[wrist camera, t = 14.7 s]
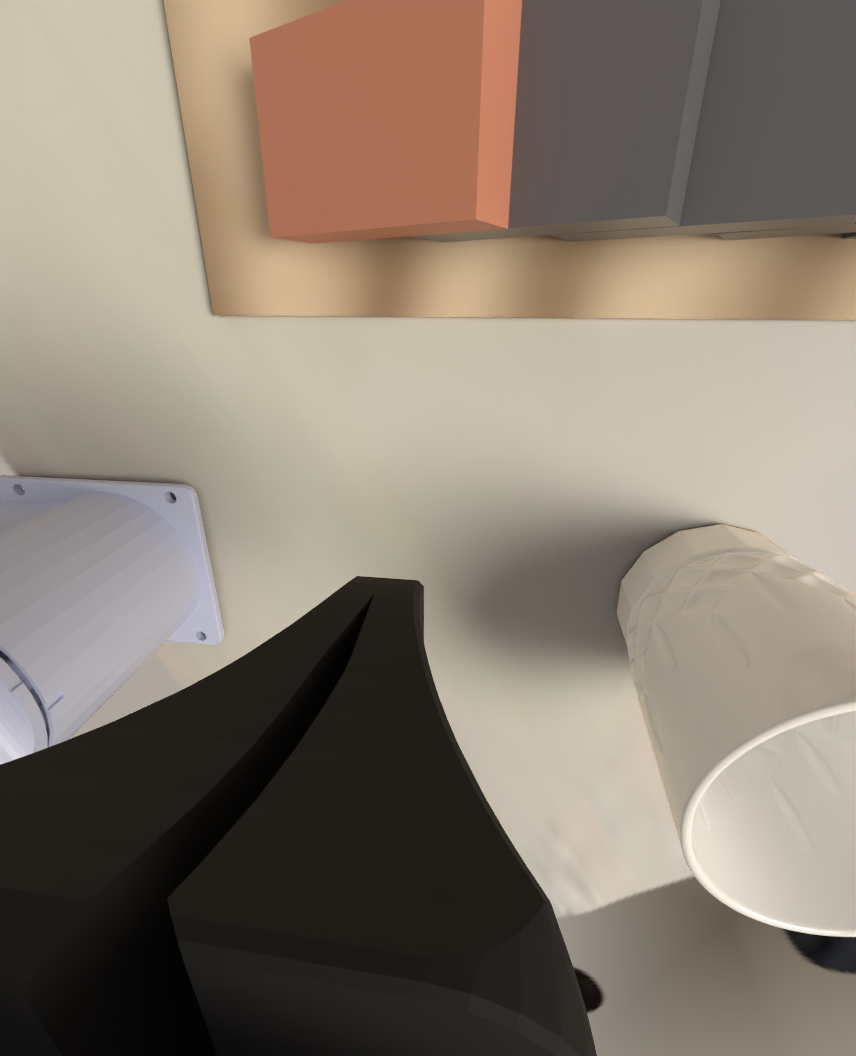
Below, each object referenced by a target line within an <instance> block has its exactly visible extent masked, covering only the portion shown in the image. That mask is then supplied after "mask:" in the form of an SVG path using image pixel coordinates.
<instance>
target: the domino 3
mask: <svg viewBox="0 0 856 1056" xmlns="http://www.w3.org/2000/svg"><path fill="white" fill-rule="evenodd" d="M842 239H856V232H852V233H843V236H842Z"/></svg>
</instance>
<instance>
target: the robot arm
mask: <svg viewBox="0 0 856 1056" xmlns="http://www.w3.org/2000/svg"><path fill="white" fill-rule="evenodd" d="M21 486H22V487H23V488H24V490H25V491H24V490H23V489H22V487H21ZM170 492H172V493H173V494H174V495H175V496H176V500H174V499H173V498H172V497H171V495H170ZM201 632H203V633H204V634H205V635H206V636H205V635H203V634H202V633H201ZM224 635H225V633H224V628H223V623H222V618H221V613H220V608H219V603H218V598H217V593H216V587H215V582H214V577H213V572H212V567H211V562H210V557H209V552H208V547H207V542H206V537H205V532H204V526H203V521H202V516H201V511H200V506H199V501H198V496H197V493H196V491H195V490H194V489H193V488H192V487H191V486H189V485H186V484H172V483H151V482H130V481H109V480H88V479H67V478H46V477H25V476H4V475H1V476H0V1056H597V1055H596V1050H595V1045H594V1041H593V1036H592V1032H591V1028H590V1023H589V1019H588V1016H587V1012H586V1009H585V1005H584V1001H583V998H582V994H581V991H580V988H579V985H578V981H577V978H576V975H575V972H574V969H573V966H572V963H571V960H570V957H569V954H568V951H567V948H566V945H565V942H564V940H563V937H562V934H561V931H560V929H559V925H558V923H557V920H556V917H555V914H554V911H553V908H552V905H551V903H550V901H549V899H548V898H547V896H546V894H545V893H544V891H543V890H542V888H541V887H540V885H539V884H538V882H537V881H536V879H535V878H534V876H533V875H532V873H531V872H530V870H529V869H528V867H527V866H526V864H525V863H524V861H523V860H522V858H521V857H520V855H519V853H518V852H517V850H516V849H515V847H514V845H513V844H512V842H511V841H510V839H509V838H508V836H507V834H506V833H505V831H504V829H503V828H502V826H501V824H500V822H499V821H498V819H497V817H496V816H495V814H494V812H493V810H492V809H491V807H490V805H489V804H488V802H487V800H486V798H485V797H484V795H483V793H482V791H481V789H480V787H479V785H478V783H477V781H476V779H475V777H474V775H473V773H472V771H471V769H470V767H469V765H468V763H467V761H466V759H465V757H464V755H463V753H462V751H461V749H460V748H459V745H458V743H457V741H456V739H455V736H454V734H453V732H452V729H451V727H450V725H449V722H448V720H447V717H446V715H445V712H444V709H443V707H442V704H441V702H440V699H439V696H438V693H437V690H436V687H435V684H434V681H433V677H432V674H431V670H430V667H429V663H428V659H427V655H426V651H425V646H424V586H423V585H422V584H421V583H420V582H419V581H417V580H403V579H390V578H376V577H362V576H357V577H355V578H354V579H352V580H351V581H349V582H348V583H347V584H345V585H344V586H343V587H341V588H340V589H339V590H337V591H336V592H335V593H333V594H332V595H331V596H330V597H328V598H327V599H326V600H324V601H323V602H322V603H320V604H319V605H318V606H316V607H315V608H313V609H312V610H311V611H309V612H308V613H307V614H305V615H304V616H303V617H301V618H300V619H298V620H297V621H296V622H294V623H293V624H292V625H290V626H289V627H287V628H286V629H284V630H283V631H281V632H280V633H278V634H276V635H275V636H273V637H272V638H270V639H269V640H267V641H266V642H264V643H263V644H261V645H260V646H258V647H257V648H255V649H254V650H252V651H251V652H249V653H248V654H246V655H244V656H243V657H241V658H239V659H238V660H236V661H234V662H233V663H231V664H229V665H227V666H226V667H224V668H222V669H221V670H219V671H217V672H215V673H213V674H211V675H209V676H208V677H206V678H204V679H202V680H200V681H198V682H196V683H195V684H193V685H191V686H189V687H187V688H185V689H183V690H181V691H179V692H177V693H175V694H173V695H171V696H168V697H167V698H164V699H162V700H160V701H157V702H155V703H153V704H151V705H149V706H147V707H144V708H142V709H140V710H138V711H136V712H134V713H131V714H129V715H127V716H125V717H123V718H121V719H119V720H116V721H114V722H112V723H109V724H107V725H104V726H102V727H99V728H97V729H94V730H92V731H89V732H87V733H84V734H82V735H79V736H77V737H74V738H72V739H70V738H71V737H72V736H73V734H75V733H76V732H77V731H78V730H79V729H80V728H81V727H82V726H83V724H85V722H87V721H88V719H89V718H90V717H92V715H93V714H94V713H95V712H96V711H97V710H98V709H99V708H100V707H101V706H102V705H103V704H104V703H105V702H106V701H107V700H108V699H109V698H110V697H111V696H112V695H113V694H114V693H115V692H116V691H117V690H118V689H119V688H120V687H121V686H122V685H123V684H124V683H125V682H126V681H127V680H128V679H129V678H130V677H131V676H132V675H133V674H134V673H135V672H136V671H137V670H138V669H139V668H140V667H141V666H142V665H143V664H144V663H145V662H146V661H147V660H148V659H149V658H150V657H151V656H152V655H153V654H154V653H155V652H156V651H157V650H158V649H159V648H160V647H161V646H162V644H163V643H164V642H165V641H172V642H184V643H195V644H207V645H217V644H219V643H220V642H221V641H222V640H223V638H224Z"/></svg>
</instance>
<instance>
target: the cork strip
mask: <svg viewBox="0 0 856 1056" xmlns="http://www.w3.org/2000/svg"><path fill="white" fill-rule="evenodd" d="M163 1H164V7H165V14H166V20H167V26H168V33H169V39H170V45H171V52H172V58H173V64H174V71H175V77H176V83H177V90H178V96H179V102H180V109H181V115H182V121H183V128H184V134H185V140H186V147H187V153H188V159H189V166H190V172H191V178H192V185H193V191H194V197H195V203H196V210H197V216H198V222H199V229H200V235H201V241H202V248H203V254H204V260H205V267H206V273H207V279H208V286H209V292H210V298H211V305H212V311H213V315H252V316H388V317H524V318H660V319H796V320H856V239H842V236H843V233H836V234H821V235H805V236H790V237H774V238H758V239H743V240H727V241H726V240H725V239H723V238H722V237H720V236H719V235H717V233H707V234H691V235H674V236H657V237H640V238H624V239H607V240H590V241H573V242H570V241H567V240H564V239H561V238H557V237H554V236H551V235H541V236H527V237H513V238H498V239H484V240H470V241H455V242H438V241H433V240H427V239H422V238H417V237H411V236H407V237H394V238H381V239H367V240H354V241H341V242H328V243H315V244H312V243H305V242H298V241H291V240H284V239H276V238H271V237H270V227H269V218H268V209H267V199H266V190H265V181H264V171H263V162H262V152H261V143H260V134H259V124H258V115H257V106H256V96H255V87H254V78H253V68H252V59H251V49H250V40H249V38H251V37H253V36H256V35H258V34H261V33H263V32H266V31H269V30H271V29H274V28H276V27H279V26H281V25H284V24H287V23H289V22H292V21H294V20H297V19H299V18H302V17H304V16H307V15H310V14H312V13H315V12H317V11H320V10H322V9H325V8H328V7H330V6H333V5H335V4H338V3H340V2H343V1H346V0H163Z"/></svg>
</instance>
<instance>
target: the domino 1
mask: <svg viewBox="0 0 856 1056" xmlns="http://www.w3.org/2000/svg"><path fill="white" fill-rule="evenodd" d="M720 2H721V0H522V11H521V27H520V43H519V60H518V76H517V92H516V108H515V124H514V140H513V156H512V172H511V188H510V204H509V220H508V229H499V230H485V231H472V232H459V233H446V234H433V235H420V236H411V237H417V238H422V239H427V240H433V241H438V242H455V241H470V240H484V239H498V238H513V237H527V236H541V235H556V234H570V233H585V232H599V231H613V230H628V229H642V228H656V227H671V226H680V220H681V215H682V209H683V204H684V198H685V193H686V187H687V182H688V177H689V171H690V166H691V160H692V155H693V149H694V144H695V138H696V133H697V127H698V122H699V116H700V111H701V106H702V100H703V95H704V89H705V84H706V78H707V73H708V67H709V62H710V56H711V51H712V46H713V40H714V35H715V29H716V24H717V18H718V13H719V7H720Z"/></svg>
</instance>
